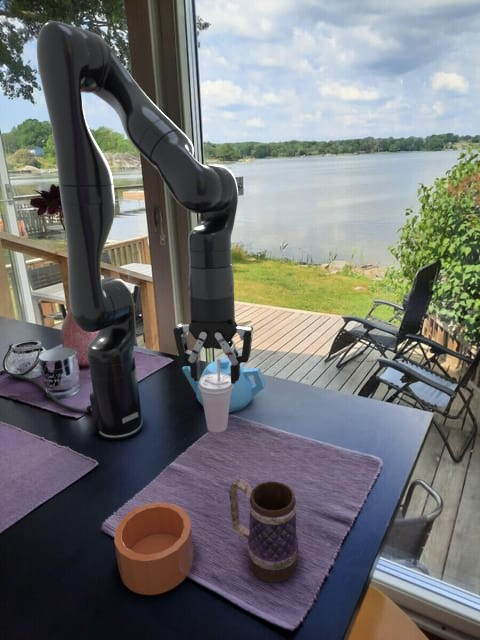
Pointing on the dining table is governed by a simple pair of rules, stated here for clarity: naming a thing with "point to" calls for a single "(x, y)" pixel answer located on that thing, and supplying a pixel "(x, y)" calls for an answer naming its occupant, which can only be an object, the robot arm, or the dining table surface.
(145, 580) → the bottle stand
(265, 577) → the mug
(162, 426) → the dining table surface
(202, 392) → the smoothie
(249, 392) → the teapot
